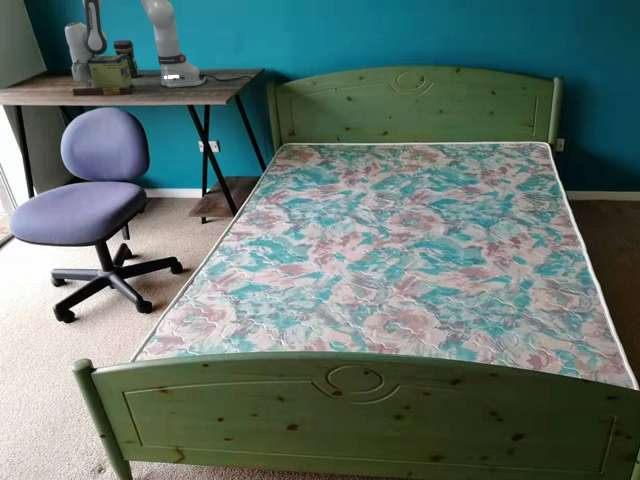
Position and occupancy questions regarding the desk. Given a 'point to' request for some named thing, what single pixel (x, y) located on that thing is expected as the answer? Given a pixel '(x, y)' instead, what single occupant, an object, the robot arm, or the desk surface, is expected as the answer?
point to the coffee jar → (127, 55)
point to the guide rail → (102, 91)
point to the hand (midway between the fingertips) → (89, 86)
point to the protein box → (110, 71)
